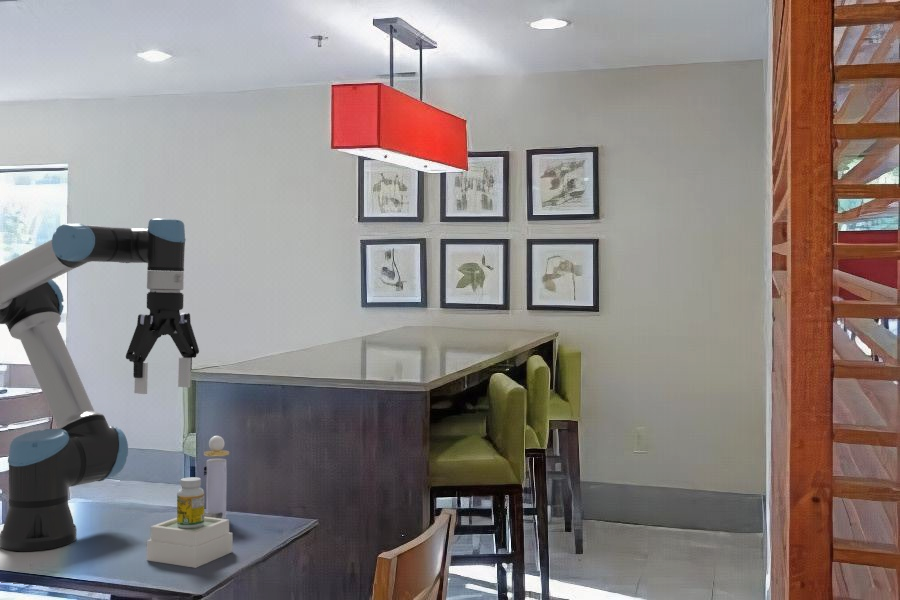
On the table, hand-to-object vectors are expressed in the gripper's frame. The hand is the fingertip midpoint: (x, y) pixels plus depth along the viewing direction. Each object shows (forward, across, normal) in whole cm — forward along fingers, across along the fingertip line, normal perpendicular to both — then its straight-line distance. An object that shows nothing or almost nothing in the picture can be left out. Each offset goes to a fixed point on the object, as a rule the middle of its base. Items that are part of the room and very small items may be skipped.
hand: (163, 390), depth 200 cm
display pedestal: (+32, -6, -13) cm, 35 cm away
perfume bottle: (+33, +20, +1) cm, 39 cm away
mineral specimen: (+33, +10, -2) cm, 35 cm away
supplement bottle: (+26, -6, -13) cm, 30 cm away
